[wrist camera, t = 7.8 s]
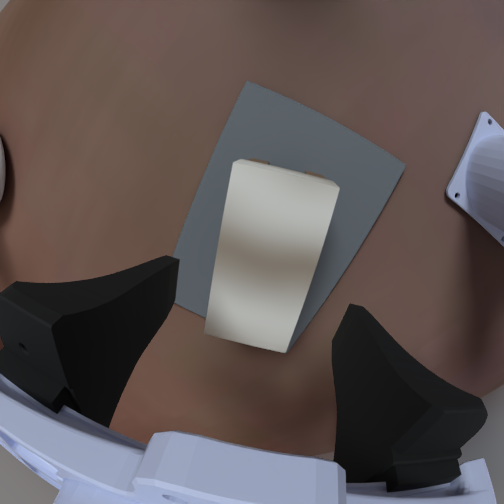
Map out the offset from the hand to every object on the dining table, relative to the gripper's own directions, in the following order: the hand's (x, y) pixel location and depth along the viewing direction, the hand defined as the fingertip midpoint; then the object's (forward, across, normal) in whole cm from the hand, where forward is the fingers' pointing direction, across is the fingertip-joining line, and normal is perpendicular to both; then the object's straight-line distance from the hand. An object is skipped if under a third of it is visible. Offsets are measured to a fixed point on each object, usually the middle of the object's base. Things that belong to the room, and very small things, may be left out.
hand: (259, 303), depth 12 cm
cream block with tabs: (+9, 0, 0) cm, 9 cm away
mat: (+10, 0, 0) cm, 10 cm away
